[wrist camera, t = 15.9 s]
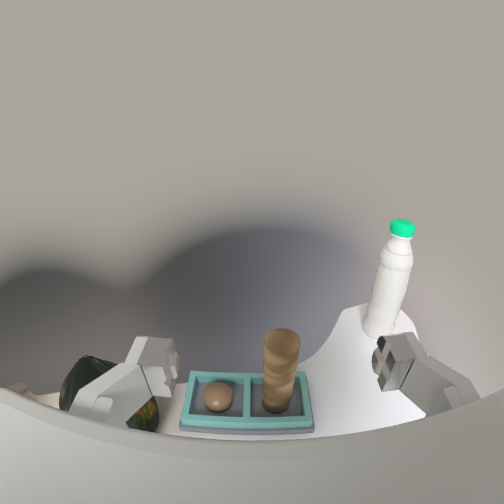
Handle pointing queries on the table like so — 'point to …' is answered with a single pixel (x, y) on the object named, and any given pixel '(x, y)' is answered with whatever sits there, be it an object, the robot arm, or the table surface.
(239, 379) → the housing plate
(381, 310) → the water bottle
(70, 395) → the squash
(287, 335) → the oak post
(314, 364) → the table surface
